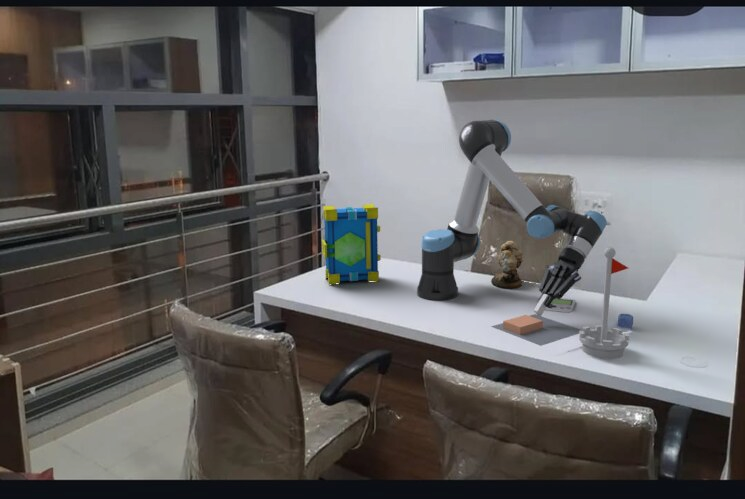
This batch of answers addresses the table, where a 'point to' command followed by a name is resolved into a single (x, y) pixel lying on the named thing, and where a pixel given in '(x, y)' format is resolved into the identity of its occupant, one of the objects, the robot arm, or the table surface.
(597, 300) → the table surface
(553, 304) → the handheld gaming console
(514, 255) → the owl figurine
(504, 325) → the card deck
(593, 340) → the flag stand
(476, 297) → the table surface
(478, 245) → the robot arm
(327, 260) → the decorative book
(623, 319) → the decorative dice
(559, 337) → the mat
